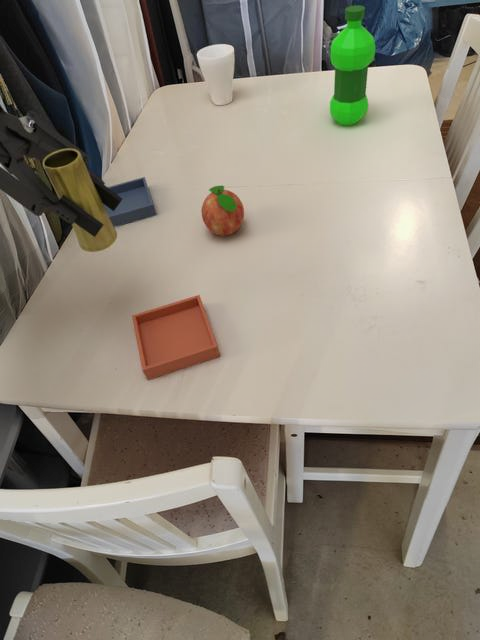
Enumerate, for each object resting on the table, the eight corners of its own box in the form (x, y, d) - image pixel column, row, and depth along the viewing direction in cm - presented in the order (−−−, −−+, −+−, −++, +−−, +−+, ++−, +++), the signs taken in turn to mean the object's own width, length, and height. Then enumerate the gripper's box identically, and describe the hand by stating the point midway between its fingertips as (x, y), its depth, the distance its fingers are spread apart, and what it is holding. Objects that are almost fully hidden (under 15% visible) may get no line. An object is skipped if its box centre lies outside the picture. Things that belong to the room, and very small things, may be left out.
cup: (219, 112, 128) (211, 62, 117) (198, 103, 134) (189, 53, 123) (247, 98, 131) (241, 48, 121) (225, 90, 137) (218, 41, 127)
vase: (108, 254, 68) (70, 171, 57) (73, 251, 69) (29, 170, 59) (123, 228, 72) (90, 146, 61) (89, 226, 73) (52, 146, 62)
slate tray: (103, 230, 98) (98, 220, 96) (98, 200, 106) (94, 190, 104) (156, 214, 99) (153, 204, 97) (147, 187, 107) (144, 176, 105)
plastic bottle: (328, 131, 113) (331, 19, 94) (328, 112, 120) (331, 3, 101) (368, 129, 112) (380, 14, 93) (366, 110, 118) (377, -2, 99)
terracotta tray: (147, 380, 71) (142, 370, 69) (136, 325, 79) (131, 315, 76) (220, 356, 72) (217, 346, 70) (202, 305, 80) (199, 294, 78)
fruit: (211, 248, 89) (201, 207, 82) (201, 221, 96) (191, 181, 88) (251, 237, 90) (246, 195, 83) (239, 211, 96) (233, 170, 89)
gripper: (-6, 94, 66) (125, 195, 74) (-96, 161, 55) (69, 271, 63) (4, 55, 61) (145, 168, 69) (-93, 120, 50) (87, 246, 58)
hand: (108, 217), depth 66 cm, fingers closed on vase, 5 cm apart
